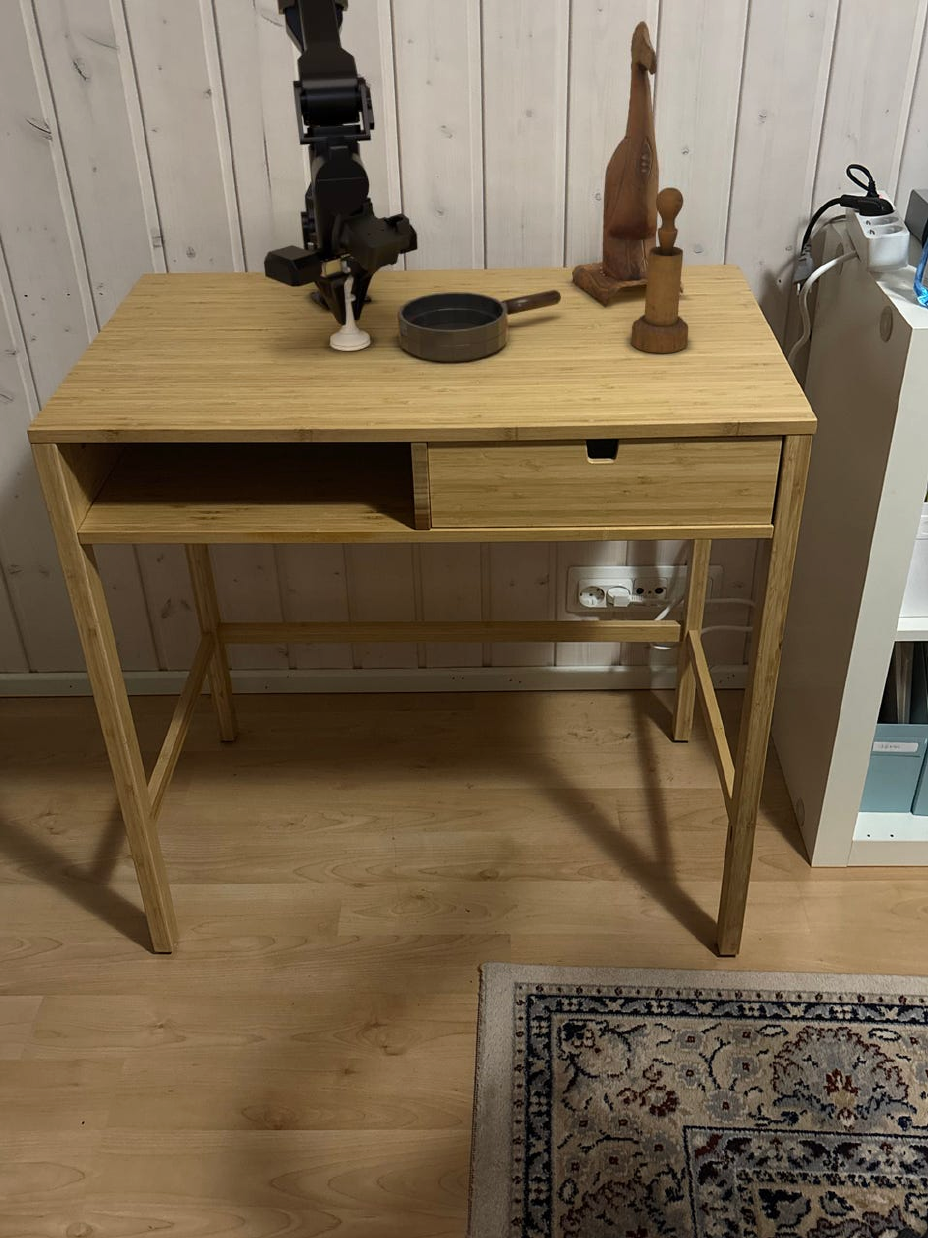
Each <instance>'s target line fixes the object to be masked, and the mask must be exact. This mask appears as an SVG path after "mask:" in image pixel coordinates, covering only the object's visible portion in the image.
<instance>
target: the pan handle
mask: <svg viewBox="0 0 928 1238" xmlns="http://www.w3.org/2000/svg"><path fill="white" fill-rule="evenodd" d="M561 299H562V295H561V293H560V292H559V291H558V290H556V289H550V290H546V291H542V292H537V293H532V294H528V295H521V296H518V297H513V298H507V299H504V300H500V301H501V302H502V303H504V304H505V306H506V308H507V309H508V316H510V315H514V314H519V313H523V312H524V313H525V312H528V311H533V310H538V309H543V308H547V307H552V306H556V305H558V304H559V303H561ZM495 306H496V305H495V304H494V312H495V313H496V314H498V312H499V307H498V306H496V307H495ZM498 315H499V314H498Z"/></svg>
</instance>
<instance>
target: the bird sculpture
mask: <svg viewBox="0 0 928 1238" xmlns="http://www.w3.org/2000/svg"><path fill="white" fill-rule="evenodd" d="M649 31H650V30H649V27H648V24H647V23H646V22H645V21H644V20H642V21H640V22H639V23H637V25H636V26H635V29H634V31H633V33H632V37H631V46H630V56H631V57H630V58H631V63H630V70H631V71H630V91H629V100H628V113H627V114H628V115H627V119H626V120H627V121H626V127H625V135H624V137H623V138H622V139H621V140H620V142H619V143H618V144H617V146H616V147H615V148H614V151H613V153H612V154H611V156H610V159H609V161H608V163H607V165H606V169H605V177H604V191H603V214H602V216H603V217H602V218H603V219H602V220H603V222H602V223H603V224H602V261H600V262H593V263H585V264H578V265H576V266H575V267H574V269H572V272H571V275H572V281H571V283H574V285H576V284H577V286H578V287H579V288H580V289H584V291H585V292H587V293H588V294H589V295H591V296H592V297H593V298H595V299H597V301H600V302H601V303H602V304H603V305H606V304H607V302H608V301H609V299H611V297H612V296H613V295H614V294H616V293H617V292H618V291H619V290H620V289H621V288H625V287H633V286H640V285H647V274H648V258H649V250H650V249H651V248H653V247H657V233H658V217H659V216H658V214H659V212H658V210H657V207H656V198H657V196H658V194H659V189H660V188H659V187H660V185H659V184H660V181H659V180H660V167H659V159H658V152H657V151H658V150H657V142H656V133H655V123H654V110H653V101H652V89H651V88H652V87H651V82H650V81H651V80H650V77H649V75H650V76H653V75H656V73H657V66H658V64H657V53H656V51H655V49H654V46H653V43H652V40H651V36H650V32H649ZM680 294H682V295H684V284H683V282H682V281H681V282H680Z"/></svg>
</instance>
